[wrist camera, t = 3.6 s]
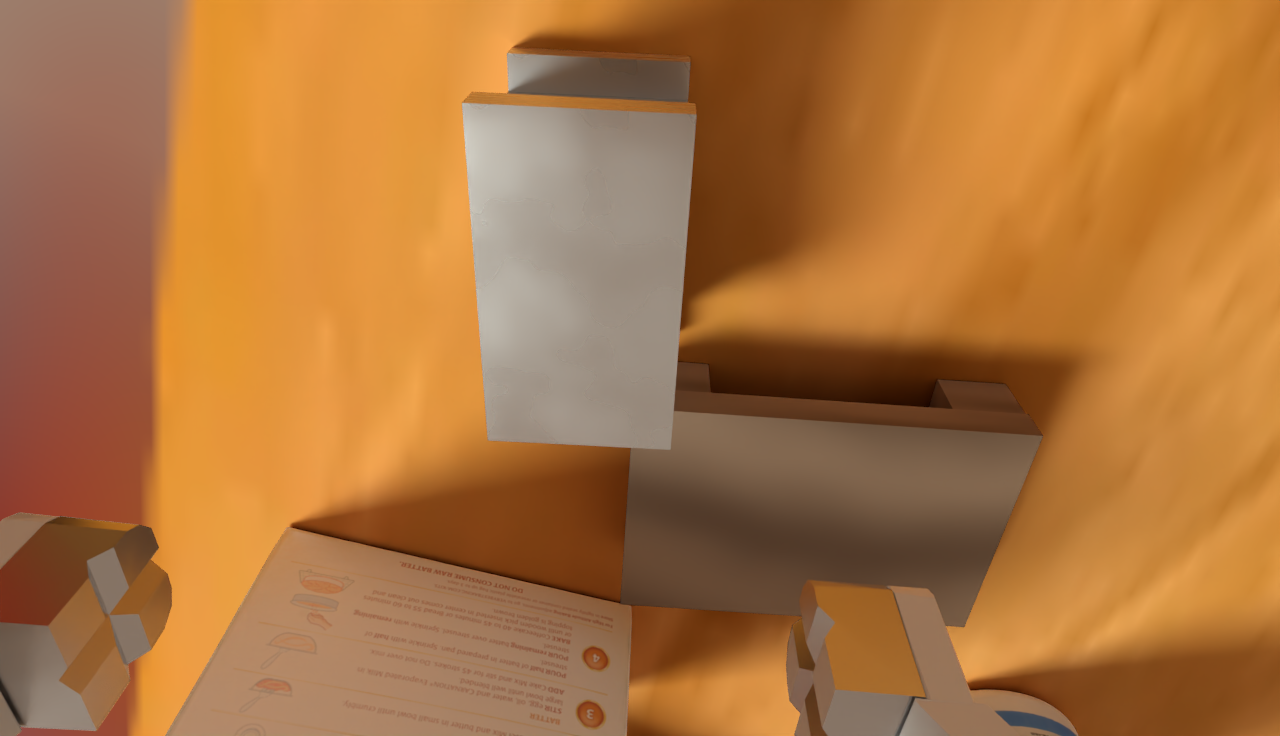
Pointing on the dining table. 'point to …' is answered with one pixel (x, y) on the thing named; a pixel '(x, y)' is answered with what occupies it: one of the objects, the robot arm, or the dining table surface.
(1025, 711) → the supplement tub
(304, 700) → the coffeecake box
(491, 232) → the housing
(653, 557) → the stand
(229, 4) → the dining table surface
